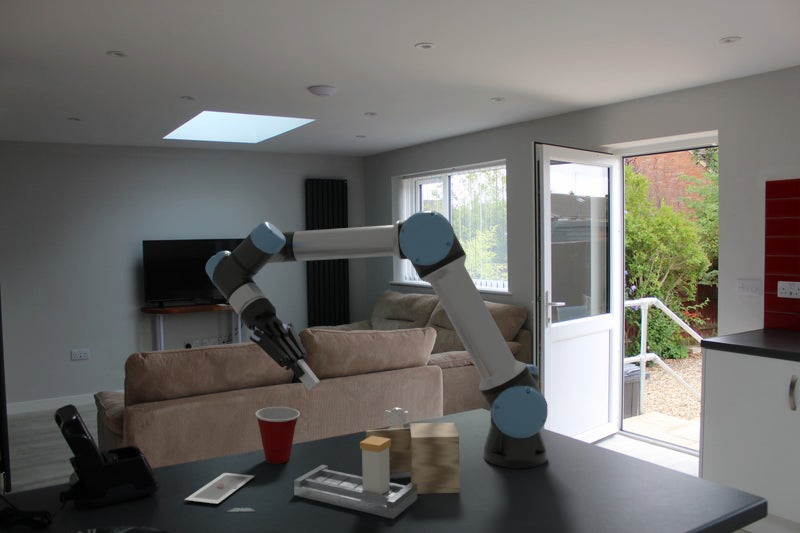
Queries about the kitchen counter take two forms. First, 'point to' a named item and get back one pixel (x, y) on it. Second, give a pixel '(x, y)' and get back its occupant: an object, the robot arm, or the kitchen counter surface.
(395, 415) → the sitting furry creature
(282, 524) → the kitchen counter surface
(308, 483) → the fader track
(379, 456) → the fader knob
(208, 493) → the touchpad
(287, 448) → the plastic cup
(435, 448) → the wooden cabinet
